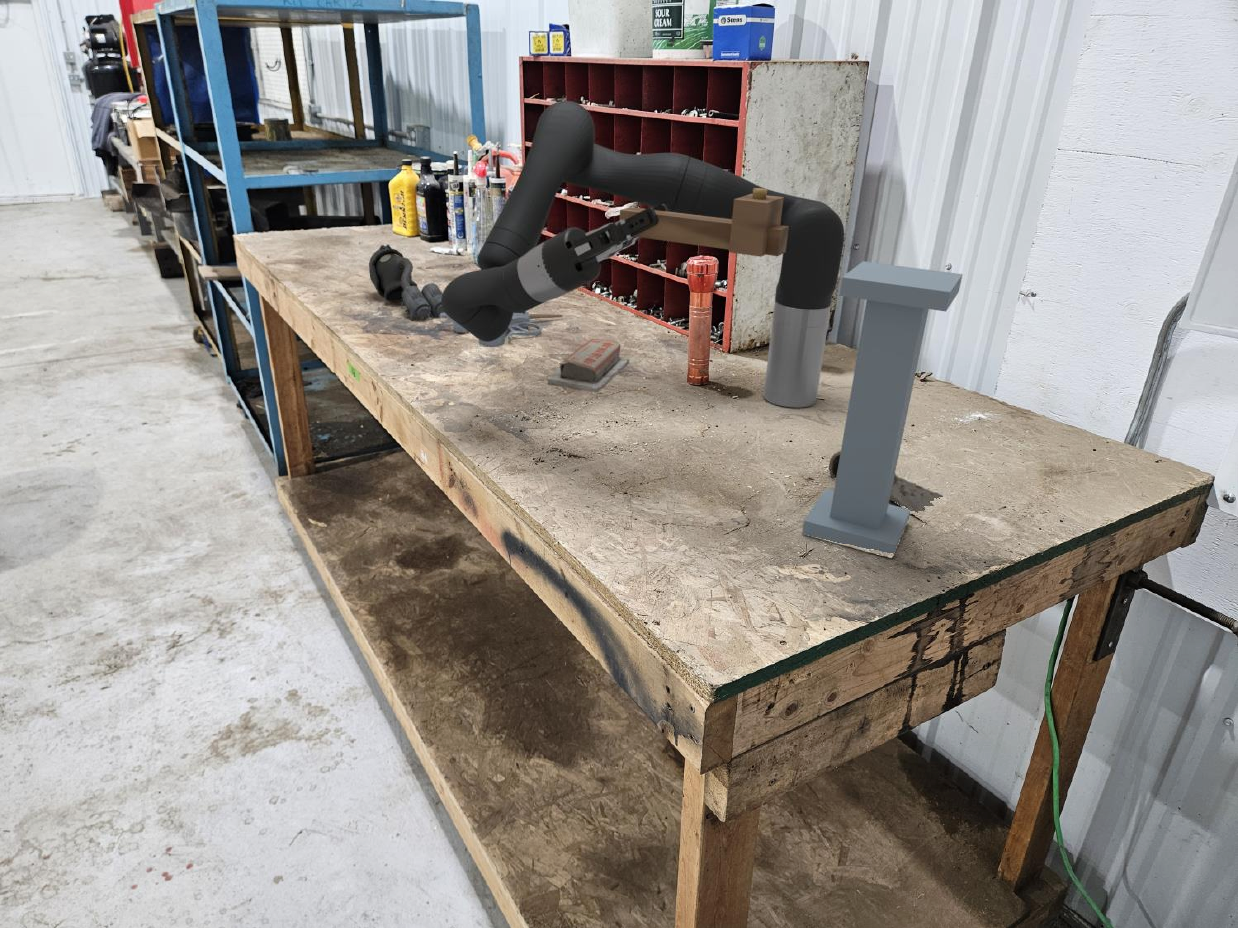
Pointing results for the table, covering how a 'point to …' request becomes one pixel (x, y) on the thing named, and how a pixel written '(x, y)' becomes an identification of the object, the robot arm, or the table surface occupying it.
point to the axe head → (899, 490)
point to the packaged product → (590, 366)
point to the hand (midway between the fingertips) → (660, 213)
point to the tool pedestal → (879, 402)
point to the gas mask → (403, 284)
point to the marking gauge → (726, 226)
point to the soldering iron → (510, 327)
